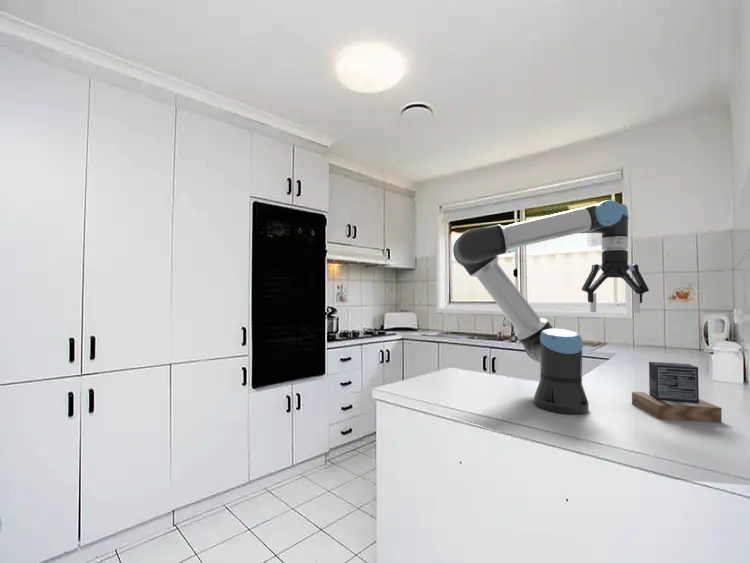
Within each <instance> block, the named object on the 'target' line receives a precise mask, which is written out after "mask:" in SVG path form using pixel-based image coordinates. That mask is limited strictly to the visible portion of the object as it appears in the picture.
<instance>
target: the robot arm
mask: <svg viewBox="0 0 750 563" xmlns="http://www.w3.org/2000/svg"><path fill="white" fill-rule="evenodd" d="M575 234H601V250H602V252H601V264H598V263H596V264H592V265H591V271H590V273H589V275H588V276H587V278H586V280H585V282H584V283H583V285H582V288H581V291H582V292H586V293H587V302H588V303H589V304H590V307H589V309H590V310H589V311H590V313H597V292H595V291H596V290H597V289H598V288H599V287H600V286H601V285H602V284H603V283H604V281H605V280H607V279H608V278H609V279H611V278H617V279H618V278H619V279H620V278H621V279H622V280H623V281H624V282H625V283H626V284H627V285H628V286H629V287H630V288H631V289H632V291H634V293H632V313H633V314H640V313H641V311H640V310H641V308H640V307H641V305H640V304H642V303H643V294H645V293H648V292H649V291H650V289H649V287H648V285H647V284H646V282H645V279H644V277H643V275H642V274H641V272H640V269H639V264H630V265H629V264H628V262H629V251H628V249H629V210H628V205H626V204H624V203H619V202H617V200H612V199H611V200H610V199H607V200H603V201H600V202H599V203H596V204H592V205H588V206H587V205H586V206H583V207H580V208H575V209H574V208H573V209H570V210H567V211H561V212H558V213H553V214H550V215H545V216H541V217H537V218H533V219H529V220H525V221H521V222H515V223H511V224H508V225H501V224H493V225H489V226H482V227H476V228H471V229H468V230H465V231H464V232H463V233H462V234H461V235H460V236H458V238H457V239H456V240H455V242H454V244H453V251H452V254H453V257H454V259H455V261H456V262H457V263H458V264H459V265H461V266H462V267H463V268H464V269H465V270H466V272H467V273H468V275H469V276H470V277H473V278H474V277H475V278H477V279H478V281H479V282H480V283H481V285H482V286H483V288H485V290H486V291H487V293H488V294H489V296H491V297H492V299H493V301H494V302H495V303H496V305H497V306H498V307H499V309H500V310H501V312H503V314H504V315H505V316H506V318H508V320H509V321H510V323H511V324H512V326H513V327H514V328H515V329H516V331H517V336H516V337H517V339H518V341H519V342H520V343H521V345H522V346H523V348H524V351H525V353H526V355H528V357H529V358H530V359H532V360H533V361H535V362H537V363H539V364H540V365H539V367H540V368H539V371H540V372H539V373H540V376H539V377H540V378H539V382H538V385H537V388H536V390H535V393H534V395H533V396H534V398H533V402H534V403H533V405H535V406H536V407H537V408H540V409H543V410H545V411H550V412H553V413H557V414H558V413H559V414H566V415H567V414H568V415H582V414H586V413H588V412H589V410H590V408H589V400H588V397H587V395H586V392H585V389H584V386H583V385H584V384H583V348H584V345H583V339H582V336H581V335H580V334H579V333H578V332H576V331H573V330H568V329H564V328H554V327H553V326H552V324H551V323H550V322H549V320H548V319H546V318H541V317H540V316H539V315H538V314H537V313H536V311H535V310H534V309H533V308H532V306H531V305H530V304H529V302H528V301H527V300H526V298H525V297H524V296H523V295H522V293H521V292H520V291H519V289H518V288H517V287H516V285H515V284H514V282H513V281H512V280H511V279H510V277H509V276H508V275H507V273H506V272H505V271H504V270H503V268H502V267H501V266H500V264H499V262H498V260H499V256H500V255H504V254H505V255H506V254H507V252H508V250H511V249H517V248H520V247H524V246H525V247H526V246H528V245H533V244H534V245H535V244H537V243H541V242H545V241H550V240H555V239H559V238H564V237H567V236H570V235H575ZM600 270H601V271H602V272H601V274H600V275H599V277H598V278H597V279H596V280H595V278H596V276H597V275H598V272H599V271H600ZM627 271H629V272H631V274H632V277H633V278H634V279H633V278H632V277H631V275H630V274H629V273H628V272H627ZM594 280H595V281H594ZM634 280H635V281H634Z"/></svg>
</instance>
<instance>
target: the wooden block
mask: <svg viewBox="0 0 750 563" xmlns="http://www.w3.org/2000/svg"><path fill="white" fill-rule="evenodd" d="M631 405H633V406H635V407H636V408H639V409H640V410H642V411H644V412H645V411H646V413H648V414H649V413H650V414H649V415H651V416H652V417H654V416H655V417H654V418H656V419H658V420H669V421H670V420H671V421H673V420H674V421H688V422H689V421H691V422H692V421H693V422H694V421H695V422H709V423H710V422H711V423H722V417H723V416H722V415H723V414H722V407H720V406H718V405H715V404H713V403H710V402H708V401H705V400H703V399H700V398H699V403H689V402H677V401H665V400H656V399H655V398H653V397H652V396H651V395H649V392H646V391H631Z"/></svg>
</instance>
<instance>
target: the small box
mask: <svg viewBox="0 0 750 563" xmlns="http://www.w3.org/2000/svg"><path fill="white" fill-rule="evenodd" d="M648 372H649V373H648V379H649V380H648V382H649V383H648V384H649V385H648V387H649V395H651V396H652V397H653V398H655V399H656V400H665V401H677V402H689V403H699V399H700V396H699V394H700V393H699V392H700V391H699V390H700V389H699V386H700V385H699V367H698V366H696V365H693V364H690V363H677V362H676V363H675V362H661V361H659V362H658V361H649V362H648Z"/></svg>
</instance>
